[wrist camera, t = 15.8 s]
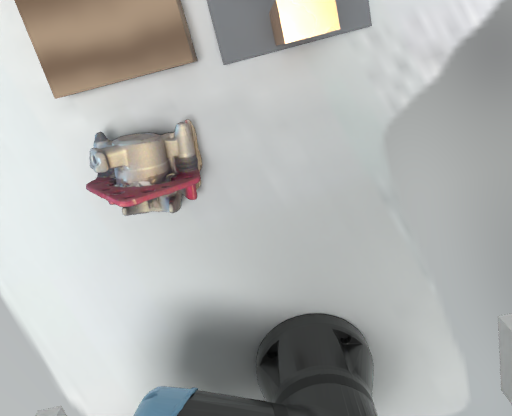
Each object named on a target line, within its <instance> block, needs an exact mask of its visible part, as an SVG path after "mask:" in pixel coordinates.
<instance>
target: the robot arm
mask: <svg viewBox="0 0 512 416" xmlns="http://www.w3.org/2000/svg"><path fill="white" fill-rule="evenodd" d="M498 330H499V350H500V351H499V353H500V375H501V390H502V392H503V393H504V395H505V396H506V397H507V399H508V400H509V401H510V403H511V404H512V313H511V314H507V315H501V316H498ZM256 368H257V380H258V384H259V387H260V389H261V392H262V394H263V396H264V398H265V400H266V401H260V400H254V399H248V398H242V397H236V396H230V395H224V394H217V393H211V392H205V391H199V390H198V388H191V389H185V388H175V387H165V386H163V387H157V388H155V389H153V390H151V391H150V392H149V393H148V394H147V395H146V396H145V397H144V398H143V400H142V401H141V403H140V405H139V406H138V408H137V410H136V412H135V414H134V416H378V415H377V412H376V409H375V407H374V404H373V401H372V388H373V360H372V356H371V353H370V350H369V348H368V345H367V343H366V340H365V339H364V337H363V335H362V334H361V333H360V332H359V331H358V330H357V329H356V328H355V327H354V326H353V325H351V324H350V323H348V322H347V321H345V320H343V319H340V318H337V317H334V316H330V315H324V314H309V315H302V316H298V317H294V318H292V319H289V320H287V321H285V322H283V323H281V324H279V325H278V326H277V327H275V328H274V329H273V330H272V331H271V332H269V333H268V335H267V336H266V337H265V338H264V340H263V341H262V343H261V345H260V347H259V350H258V353H257V359H256ZM35 416H67V415H66V414H65V412H64V410H63V408H62V406H59V407H53V408H48V409H44V410H39V411H38V412H37V413H36V415H35Z"/></svg>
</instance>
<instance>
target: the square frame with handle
mask: <svg viewBox="0 0 512 416" xmlns="http://www.w3.org/2000/svg"><path fill="white" fill-rule="evenodd" d="M269 16H270V20H271V25H272V30H273V34H274V39H275V44H276V46H277V45H282V44H286V43H290V42H294V41H297V40H301V39H305V38H309V37H313V36H316V35H320V34H324V33H328V32H331V31H335V30H339V29H340V25H339V19H338V13H337V6H336V0H275V2H274V4H273V6H272V8H271V10H270V12H269Z"/></svg>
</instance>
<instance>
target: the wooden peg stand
mask: <svg viewBox="0 0 512 416" xmlns="http://www.w3.org/2000/svg"><path fill="white" fill-rule="evenodd" d="M15 3H16V5H17V8H18V10H19V12H20V15H21V17H22V20H23V22H24V25H25V27H26V29H27V32H28V34H29V37H30V39H31V42H32V44H33V46H34V49H35V51H36V54H37V56H38V59H39V61H40V63H41V66H42V68H43V71H44V73H45V76H46V78H47V80H48V83H49V85H50V88H51V90H52V93H53V95H54V97H55V99H56V98H60V97H64V96H68V95H72V94H76V93H79V92H83V91H87V90H91V89H94V88H98V87H102V86H106V85H109V84H113V83H117V82H121V81H124V80H128V79H132V78H136V77H139V76H143V75H147V74H151V73H154V72H158V71H162V70H166V69H169V68H173V67H177V66H181V65H184V64H188V63H192V62H196V61H197V57H196V54H195V50H194V47H193V43H192V40H191V36H190V33H189V29H188V25H187V22H186V18H185V15H184V11H183V8H182V4H181V1H180V0H15Z"/></svg>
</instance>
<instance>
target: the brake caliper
mask: <svg viewBox="0 0 512 416" xmlns="http://www.w3.org/2000/svg"><path fill="white" fill-rule="evenodd" d="M90 167H91V168H92V169H94V171H95V172H97V173H98V176H97V178H96V180H93V181H91V182H90V183H88V184H87V185H86V189H87V190H89V191H90V192H92V193H94V194H96V195H98V196H100V197H101V198H104V199H106V200H108V202H109V204H111V205H114V204H116V205H118V206H121V207H123V208H122V214H123V215H125V216H128V215H132V214H133V215H136V214H141V213H148V212H152V211H157V212H170V213H174V212H177V211H178V210H179V209H180V208H181V198H182V195H184V196H186V197H187V198H188V199H190V200H195V199H196V198H197V191H196V190H197V189H198V188H199V186H200V184H201V177H200V170H201V167H202V160H201V155H200V152H199V150H198V144H197V136H196V132H195V128H194V126H193V125H192V124H191V121H190V120H185V121H184V122H181V123H178V124H177V125H176V128H175V132H173V133H165V134H163V135H158V134H155V133H144V134H133V135H126V136H121V137H119V138H117V139H115V140H113V141H111V140H109V139H107V138H106V136H105V135H104V134H103V133H102V132H99V133H97V134H96V135H95V141H94V148H92V149H90Z"/></svg>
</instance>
